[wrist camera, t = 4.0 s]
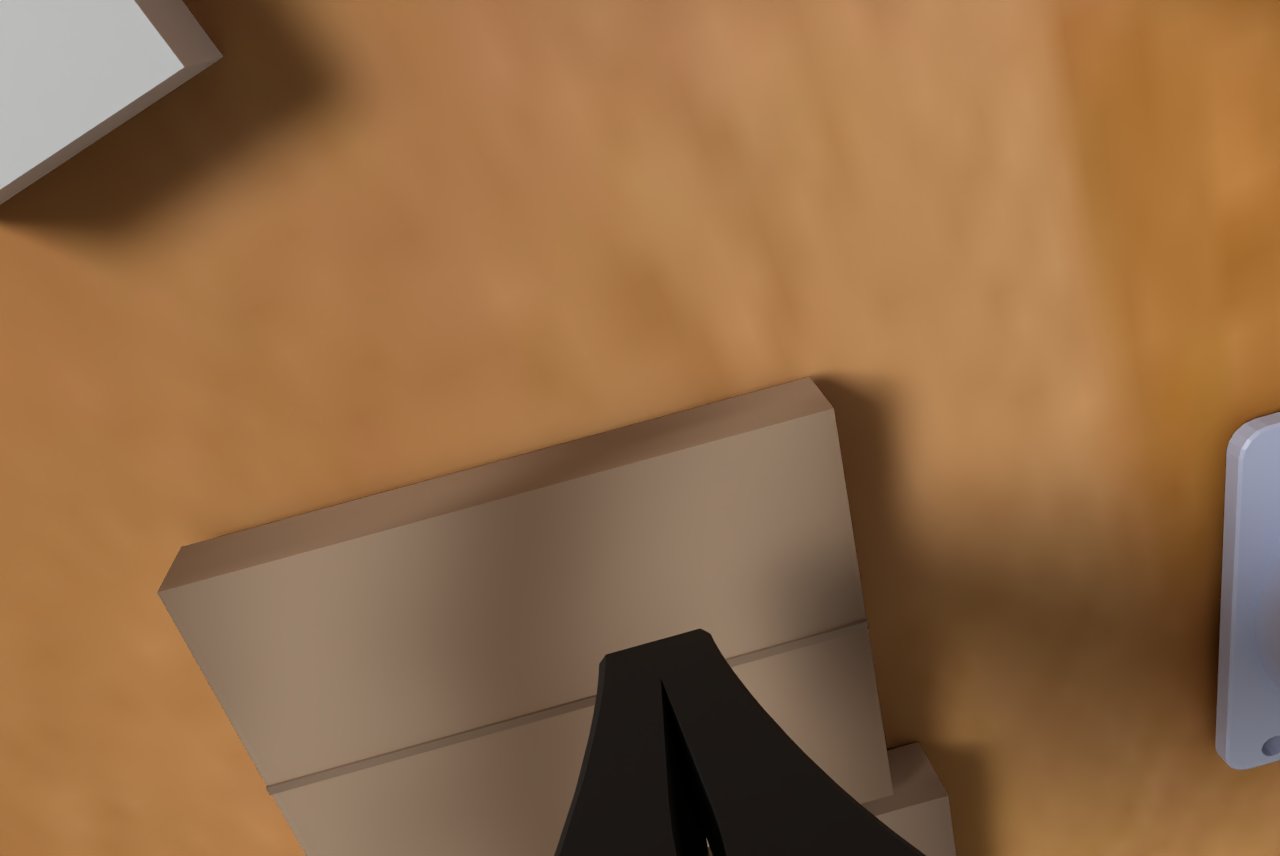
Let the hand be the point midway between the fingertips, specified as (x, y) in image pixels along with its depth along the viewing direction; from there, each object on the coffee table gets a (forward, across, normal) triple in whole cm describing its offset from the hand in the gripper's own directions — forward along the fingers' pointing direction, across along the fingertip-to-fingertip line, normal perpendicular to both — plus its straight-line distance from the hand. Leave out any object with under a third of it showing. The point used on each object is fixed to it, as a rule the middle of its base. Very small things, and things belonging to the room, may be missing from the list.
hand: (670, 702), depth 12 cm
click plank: (+4, +2, +2) cm, 5 cm away
